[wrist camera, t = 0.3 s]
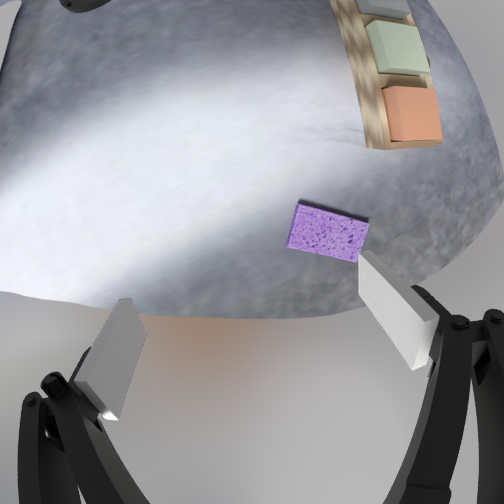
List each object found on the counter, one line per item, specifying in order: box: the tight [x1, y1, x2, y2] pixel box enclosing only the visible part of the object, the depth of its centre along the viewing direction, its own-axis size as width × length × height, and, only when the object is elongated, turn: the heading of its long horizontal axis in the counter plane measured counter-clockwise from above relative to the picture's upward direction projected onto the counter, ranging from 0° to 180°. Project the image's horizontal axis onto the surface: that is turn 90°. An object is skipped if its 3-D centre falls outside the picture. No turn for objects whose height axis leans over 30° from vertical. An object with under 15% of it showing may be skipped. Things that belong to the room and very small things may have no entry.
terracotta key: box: [382, 86, 442, 141], centre depth 29 cm, size 7×7×5 cm
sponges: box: [286, 203, 369, 262], centre depth 42 cm, size 7×13×2 cm, turn 76°
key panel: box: [329, 0, 442, 150], centre depth 29 cm, size 30×15×6 cm, turn 12°
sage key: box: [365, 20, 430, 76], centre depth 26 cm, size 7×7×5 cm
